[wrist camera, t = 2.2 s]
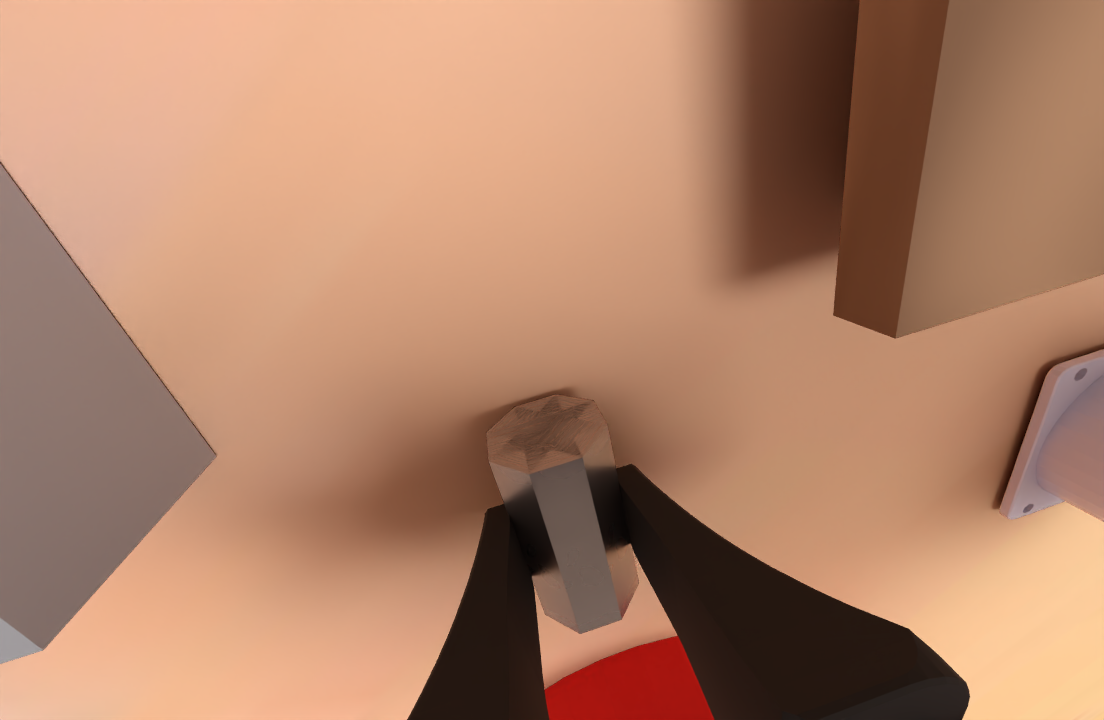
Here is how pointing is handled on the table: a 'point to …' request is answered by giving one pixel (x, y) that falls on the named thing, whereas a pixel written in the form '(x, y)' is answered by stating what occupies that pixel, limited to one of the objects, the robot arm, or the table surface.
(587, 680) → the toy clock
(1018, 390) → the table surface
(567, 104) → the table surface
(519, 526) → the roller
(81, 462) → the block
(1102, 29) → the slab
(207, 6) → the table surface
